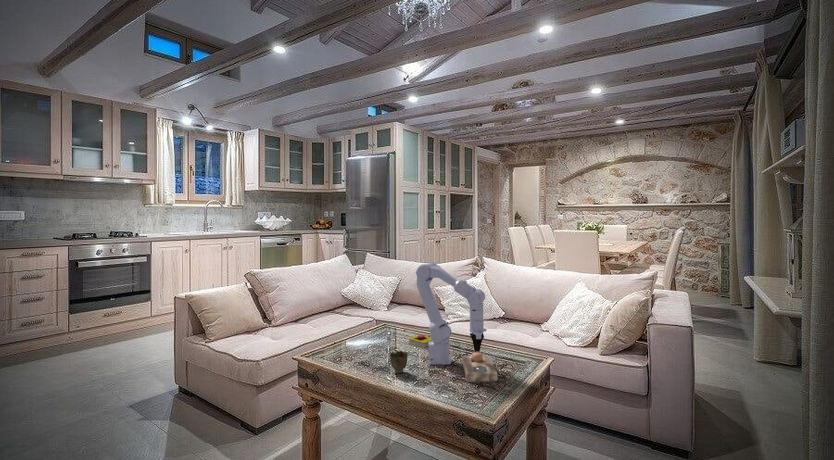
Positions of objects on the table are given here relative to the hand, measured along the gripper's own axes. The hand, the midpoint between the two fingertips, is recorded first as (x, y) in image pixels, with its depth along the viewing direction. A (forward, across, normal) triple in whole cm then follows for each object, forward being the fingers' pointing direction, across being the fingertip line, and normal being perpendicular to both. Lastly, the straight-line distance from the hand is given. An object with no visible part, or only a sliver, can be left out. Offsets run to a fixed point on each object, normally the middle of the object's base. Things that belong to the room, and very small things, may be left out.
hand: (477, 350), depth 168 cm
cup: (+8, -4, +33) cm, 34 cm away
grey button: (+7, -9, 0) cm, 11 cm away
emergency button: (+8, +33, +24) cm, 41 cm away
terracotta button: (+5, +1, 0) cm, 5 cm away
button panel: (+7, -4, 0) cm, 8 cm away
